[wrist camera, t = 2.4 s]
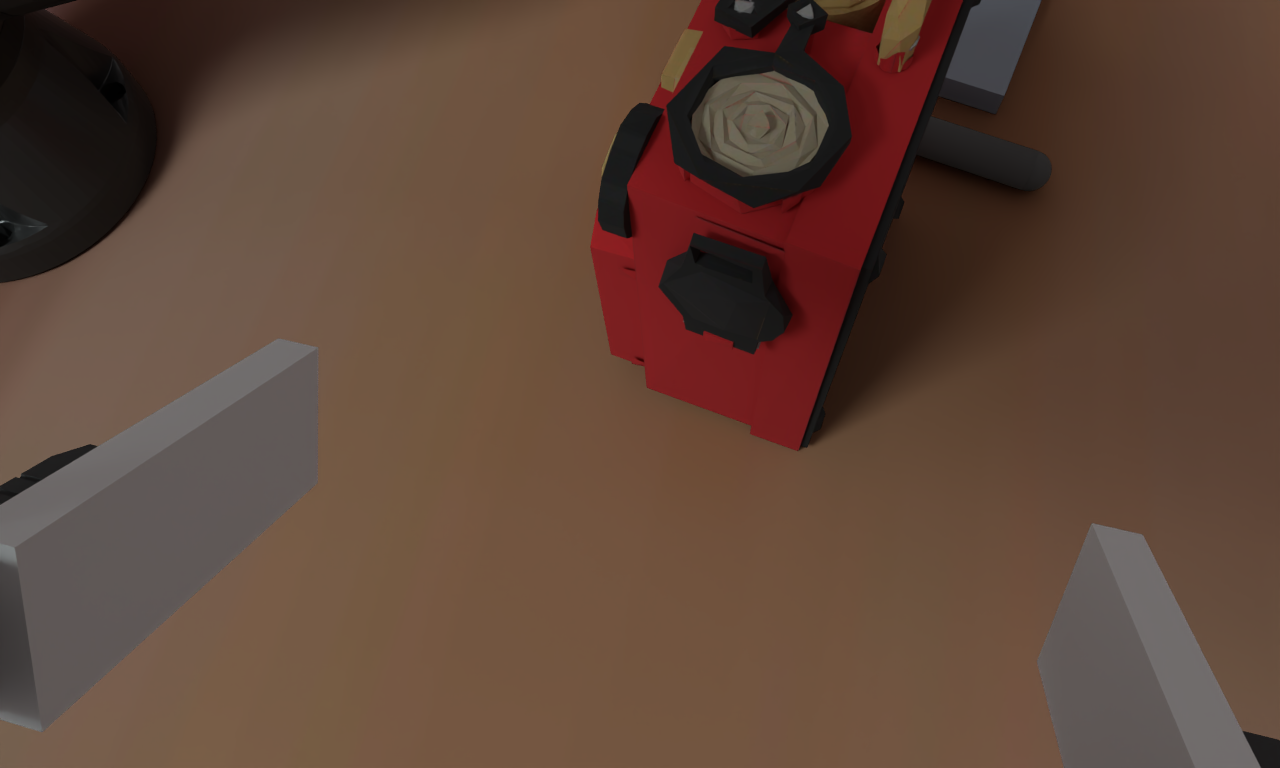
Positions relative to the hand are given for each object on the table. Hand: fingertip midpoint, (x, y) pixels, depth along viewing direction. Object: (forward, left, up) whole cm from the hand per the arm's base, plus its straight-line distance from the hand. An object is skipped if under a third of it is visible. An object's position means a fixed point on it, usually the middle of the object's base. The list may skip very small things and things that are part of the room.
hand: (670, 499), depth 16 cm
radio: (-4, +17, -27) cm, 32 cm away
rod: (-3, +29, -27) cm, 40 cm away
